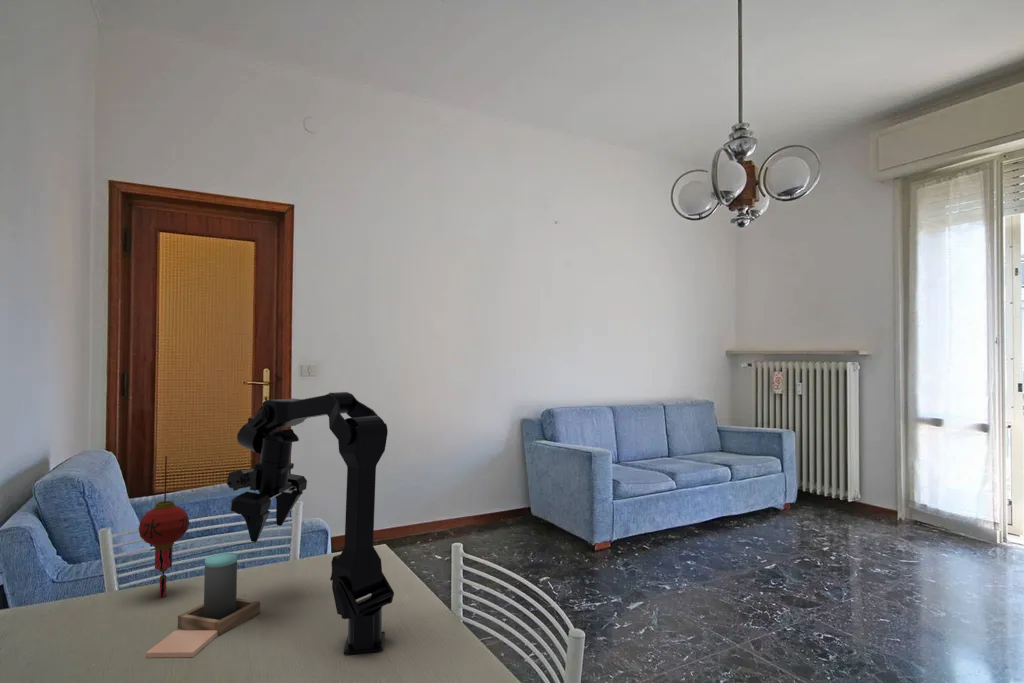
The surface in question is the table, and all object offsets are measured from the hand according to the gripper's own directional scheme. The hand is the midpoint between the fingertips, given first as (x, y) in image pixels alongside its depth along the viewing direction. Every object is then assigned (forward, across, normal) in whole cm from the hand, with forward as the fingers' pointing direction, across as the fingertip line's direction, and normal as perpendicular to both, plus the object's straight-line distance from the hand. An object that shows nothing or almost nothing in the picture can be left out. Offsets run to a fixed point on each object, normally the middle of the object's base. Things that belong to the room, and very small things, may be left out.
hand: (267, 533), depth 115 cm
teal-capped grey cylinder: (+15, +8, -3) cm, 17 cm away
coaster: (+14, +19, -3) cm, 23 cm away
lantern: (+18, -1, -22) cm, 29 cm away
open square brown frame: (+15, +8, -3) cm, 17 cm away
